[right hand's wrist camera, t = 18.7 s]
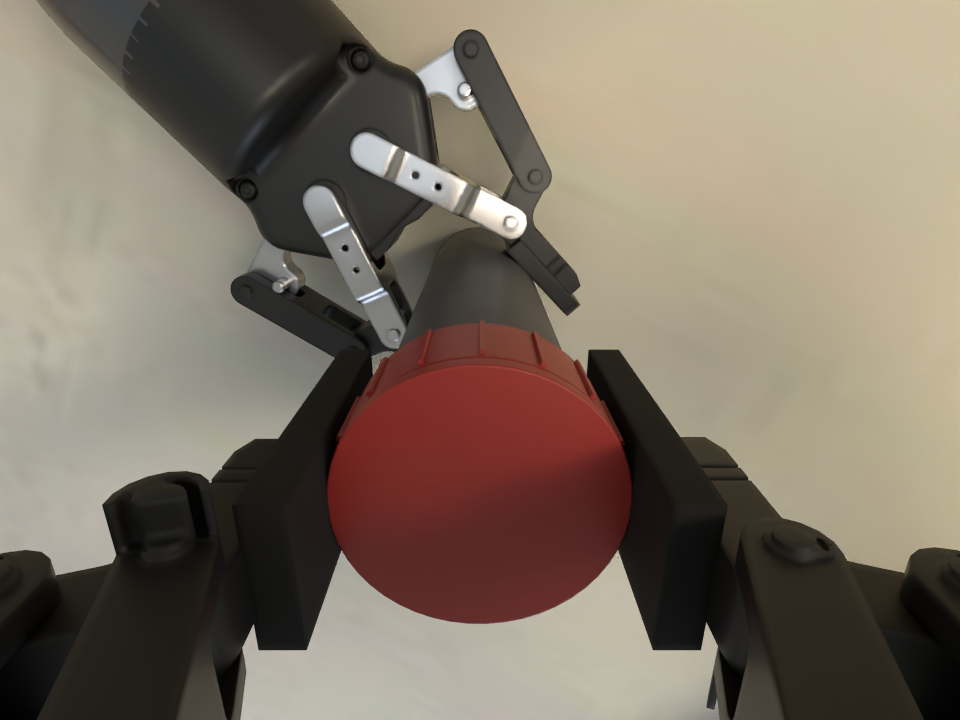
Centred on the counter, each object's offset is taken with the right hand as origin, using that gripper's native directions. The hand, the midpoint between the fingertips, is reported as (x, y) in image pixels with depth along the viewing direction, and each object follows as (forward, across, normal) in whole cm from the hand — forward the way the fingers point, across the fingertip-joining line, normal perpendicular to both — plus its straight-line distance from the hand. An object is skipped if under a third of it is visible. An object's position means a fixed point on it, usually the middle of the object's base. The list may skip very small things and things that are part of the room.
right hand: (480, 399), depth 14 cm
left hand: (+10, -2, +2) cm, 10 cm away
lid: (-4, 0, 0) cm, 4 cm away
